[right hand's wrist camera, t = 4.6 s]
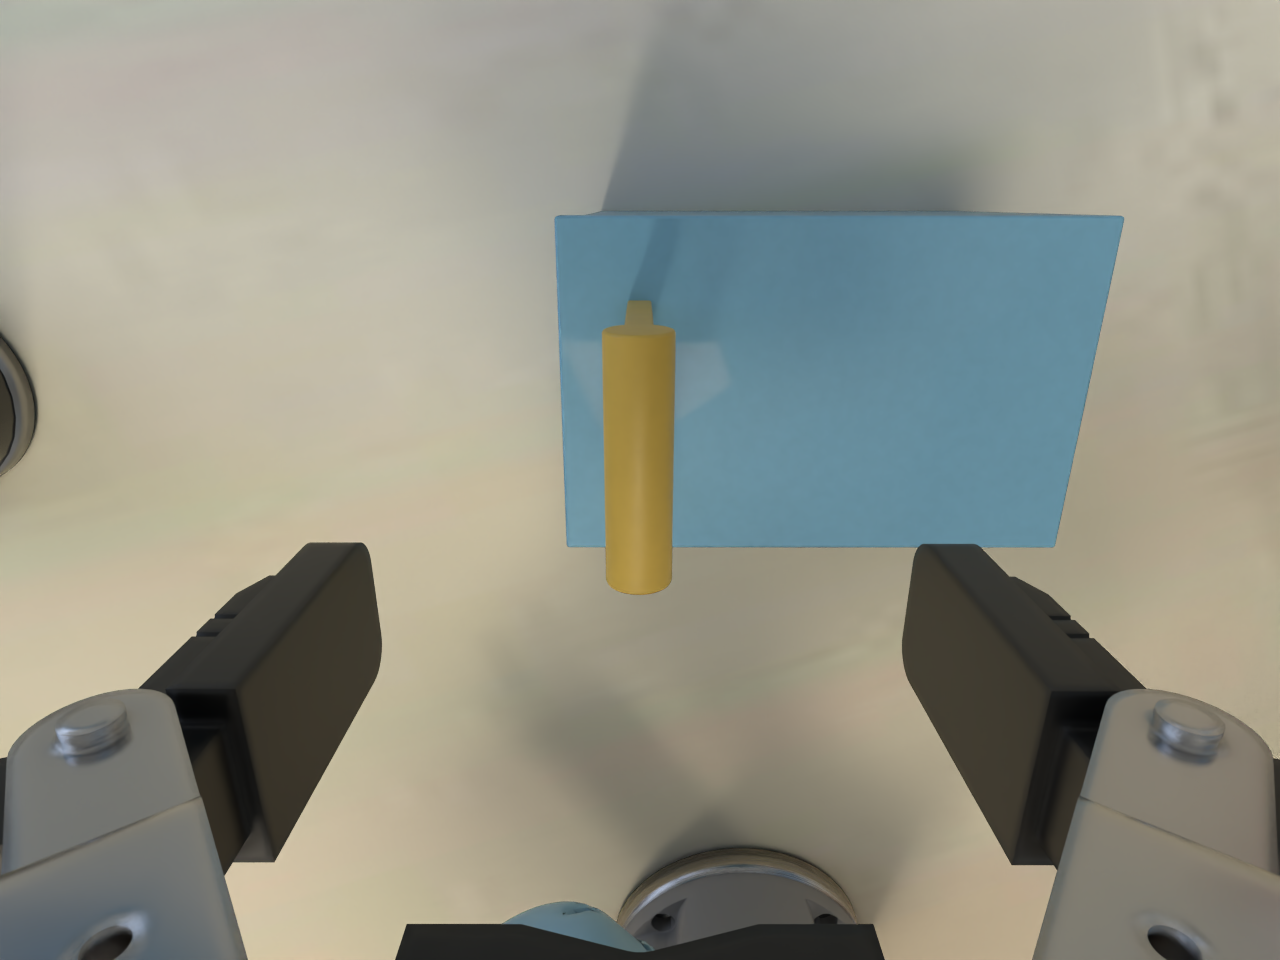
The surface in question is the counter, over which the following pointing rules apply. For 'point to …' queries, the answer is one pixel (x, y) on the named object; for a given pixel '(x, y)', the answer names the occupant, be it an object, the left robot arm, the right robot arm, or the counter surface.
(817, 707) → the counter surface
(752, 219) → the lid
